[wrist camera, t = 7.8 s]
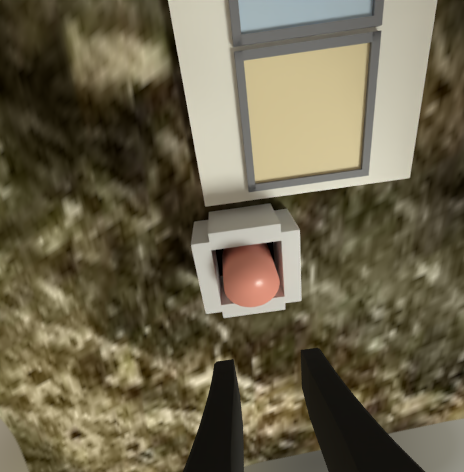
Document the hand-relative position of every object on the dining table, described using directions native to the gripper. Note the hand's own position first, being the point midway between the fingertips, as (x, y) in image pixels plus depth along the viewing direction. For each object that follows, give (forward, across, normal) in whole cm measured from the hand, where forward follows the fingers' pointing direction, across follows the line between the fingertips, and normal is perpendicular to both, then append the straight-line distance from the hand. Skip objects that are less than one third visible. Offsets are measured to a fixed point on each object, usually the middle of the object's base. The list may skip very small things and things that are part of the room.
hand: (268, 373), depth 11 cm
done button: (+9, 0, 0) cm, 9 cm away
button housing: (+9, 0, 0) cm, 9 cm away
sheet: (+9, -4, -11) cm, 15 cm away
